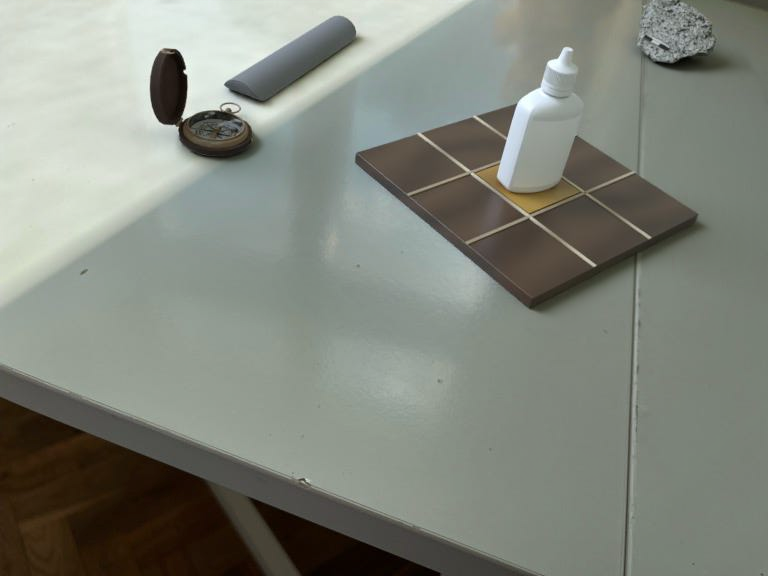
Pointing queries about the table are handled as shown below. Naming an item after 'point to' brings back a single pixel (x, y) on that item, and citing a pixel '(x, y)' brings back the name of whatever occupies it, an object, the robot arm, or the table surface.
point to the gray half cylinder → (294, 59)
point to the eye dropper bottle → (543, 130)
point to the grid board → (524, 205)
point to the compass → (202, 129)
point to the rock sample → (674, 31)
